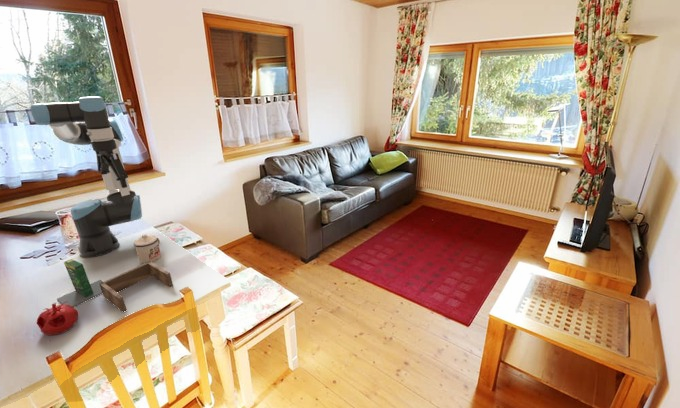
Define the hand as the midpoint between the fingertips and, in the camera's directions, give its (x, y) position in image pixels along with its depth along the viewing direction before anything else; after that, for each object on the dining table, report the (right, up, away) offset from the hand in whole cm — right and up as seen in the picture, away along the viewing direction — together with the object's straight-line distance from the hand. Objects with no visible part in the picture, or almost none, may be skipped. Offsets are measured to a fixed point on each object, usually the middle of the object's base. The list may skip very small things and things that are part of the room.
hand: (117, 192), depth 130 cm
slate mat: (-5, -38, -10) cm, 40 cm away
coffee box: (-5, -38, -10) cm, 40 cm away
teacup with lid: (+6, -29, +14) cm, 32 cm away
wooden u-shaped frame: (+15, -38, -9) cm, 42 cm away
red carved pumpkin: (0, -45, -26) cm, 52 cm away
